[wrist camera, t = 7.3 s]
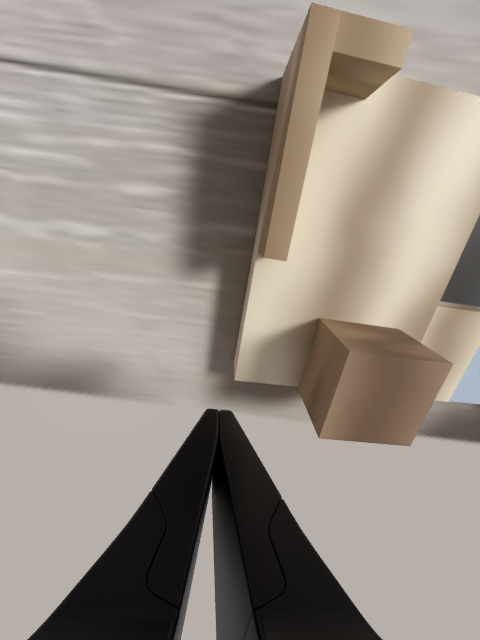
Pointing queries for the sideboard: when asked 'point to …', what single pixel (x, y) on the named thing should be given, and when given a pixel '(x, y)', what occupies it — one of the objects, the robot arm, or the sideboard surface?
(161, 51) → the sideboard surface
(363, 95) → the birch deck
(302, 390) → the walnut block
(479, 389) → the strip
